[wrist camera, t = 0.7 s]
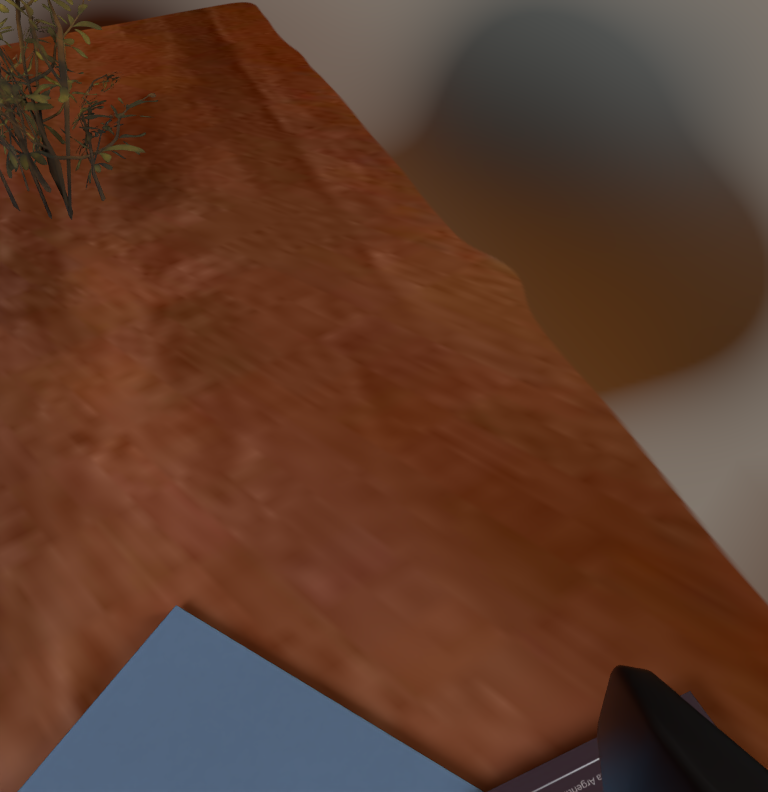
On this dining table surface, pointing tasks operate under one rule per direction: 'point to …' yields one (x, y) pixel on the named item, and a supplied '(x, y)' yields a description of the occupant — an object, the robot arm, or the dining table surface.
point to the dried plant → (3, 90)
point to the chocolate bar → (571, 768)
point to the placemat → (225, 729)
